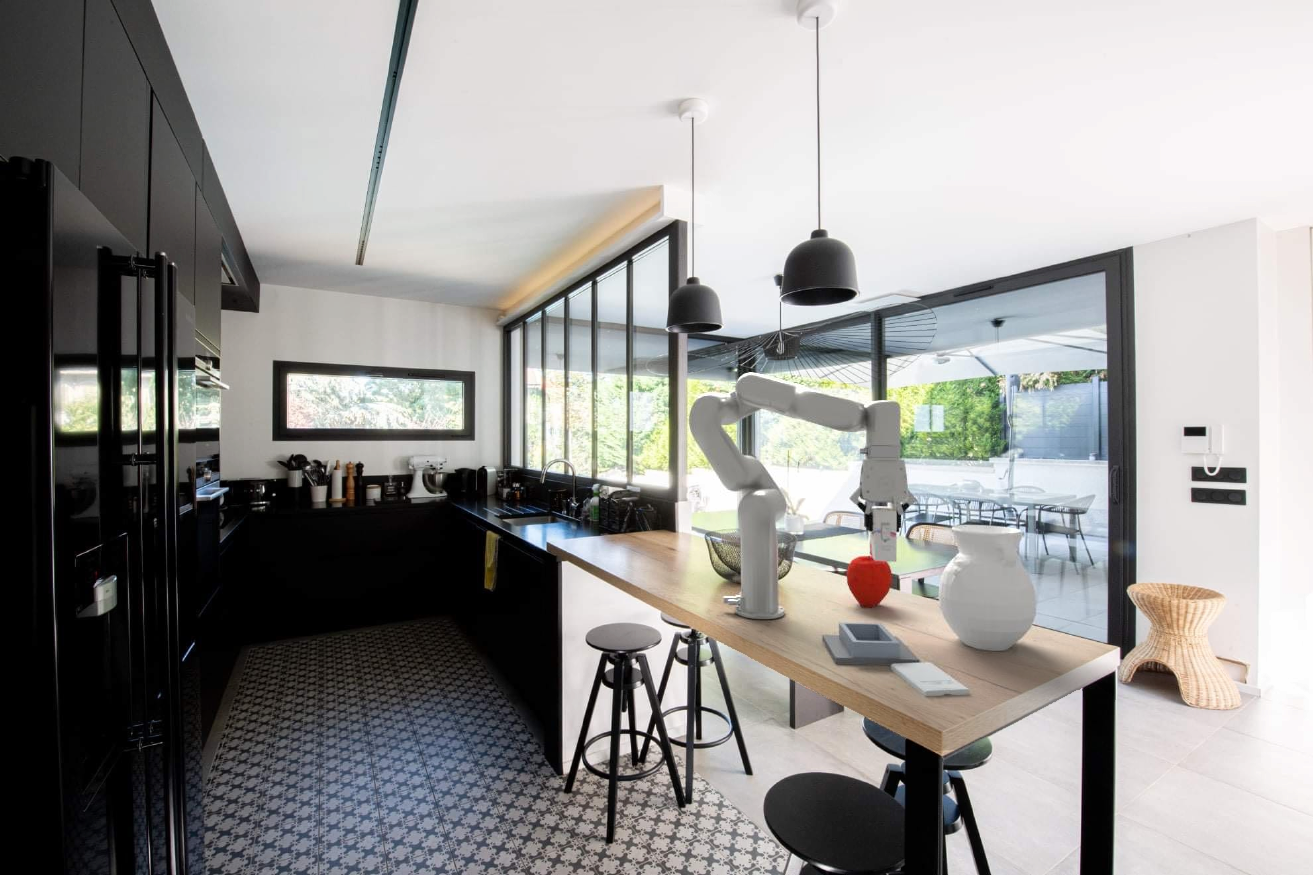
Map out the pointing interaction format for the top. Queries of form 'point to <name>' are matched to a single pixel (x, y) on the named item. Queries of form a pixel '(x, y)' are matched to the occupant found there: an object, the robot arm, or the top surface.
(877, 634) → the dock
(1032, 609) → the white vase
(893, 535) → the ink cartridge box
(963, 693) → the external hard drive
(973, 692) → the top surface
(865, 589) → the apple
